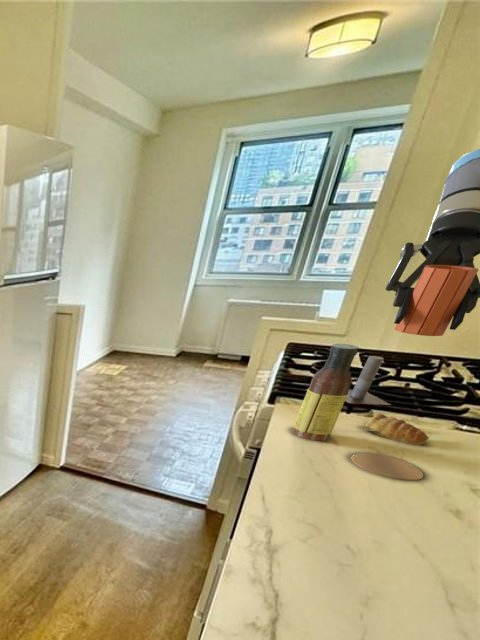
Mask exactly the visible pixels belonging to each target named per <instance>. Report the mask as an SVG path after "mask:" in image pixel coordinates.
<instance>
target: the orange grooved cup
mask: <svg viewBox="0 0 480 640" xmlns="http://www.w3.org/2000/svg"><path fill="white" fill-rule="evenodd" d="M478 272H479V268H477V267H475V268H472V267H465V266H453V265H452V266H450V265H426V266H425V267H424V269H423V271H422V274H421V276H420V278H419V279H418V280H417V281H416V284H415V285H414V287H413V288H414V290H413V294H412V297H411V300H410V303H409V306H408V309H407V312H406V315H405V317H404V318H403V320H402V321H401V322H400V324H395V326H394V330H395V331H396V332H400V333H404V334H408V335H414V336H423V337H424V336H425V337H442V336H444V334H445V332H446V330H447V329H448V327H449V325H450V324H451V322H452V319H453V316H454V314H455V312H456V310H457V309H458V307H459V305H460V303H461V301H462V299H463V298H464V296H465V294H466V292H467V290H468V288H469V287H470V285H471V283H472V281H473V279H474V277H475V276H476V274H477V275H478Z"/></svg>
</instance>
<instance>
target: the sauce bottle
mask: <svg viewBox="0 0 480 640" xmlns="http://www.w3.org/2000/svg"><path fill="white" fill-rule="evenodd" d="M359 349H360V348H359V346H357V345H353V344H349V343H333V344H332V345H331V347H330V348H329V355H328V357H327V360H326V361H325V363H324V366H323V367H322V368H321V369H319V370H317V371H316V372H315V374H314V375H313V377H312V379H311V381H310V383H309V384H310V385H309V387H308V388H307V390H306V393H305V396H304V398H303V401H302V403H301V407H300V409H299V412H298V414H297V417H296V420H295V422H294V425H293V434H295V435H296V436H298V437H300V438H302V439H306V440H309V441H315V442H316V441H317V442H324V441H327V440H328V439H329V438H330V436H331V434H332V433H333V431H334V427H335V425H336V423H337V420H338V418H339V415H340V413H341V411H342V409H343V406H344V404H345V403H346V401H345V399H346V397H347V394H348V392H349V390H350V388H351V384H352V379H351V371H350V368H351V367H352V363H353V360H354V358H355V356H357V355H358V352H359Z"/></svg>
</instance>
